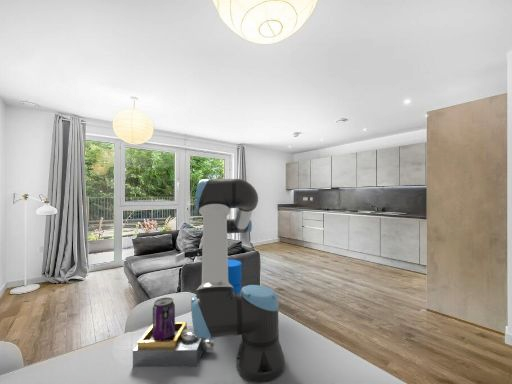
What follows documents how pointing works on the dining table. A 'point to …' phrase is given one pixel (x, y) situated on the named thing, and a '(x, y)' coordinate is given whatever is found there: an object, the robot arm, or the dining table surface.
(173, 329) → the beverage can
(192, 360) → the grey holder stand
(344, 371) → the dining table surface
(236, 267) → the thermos
